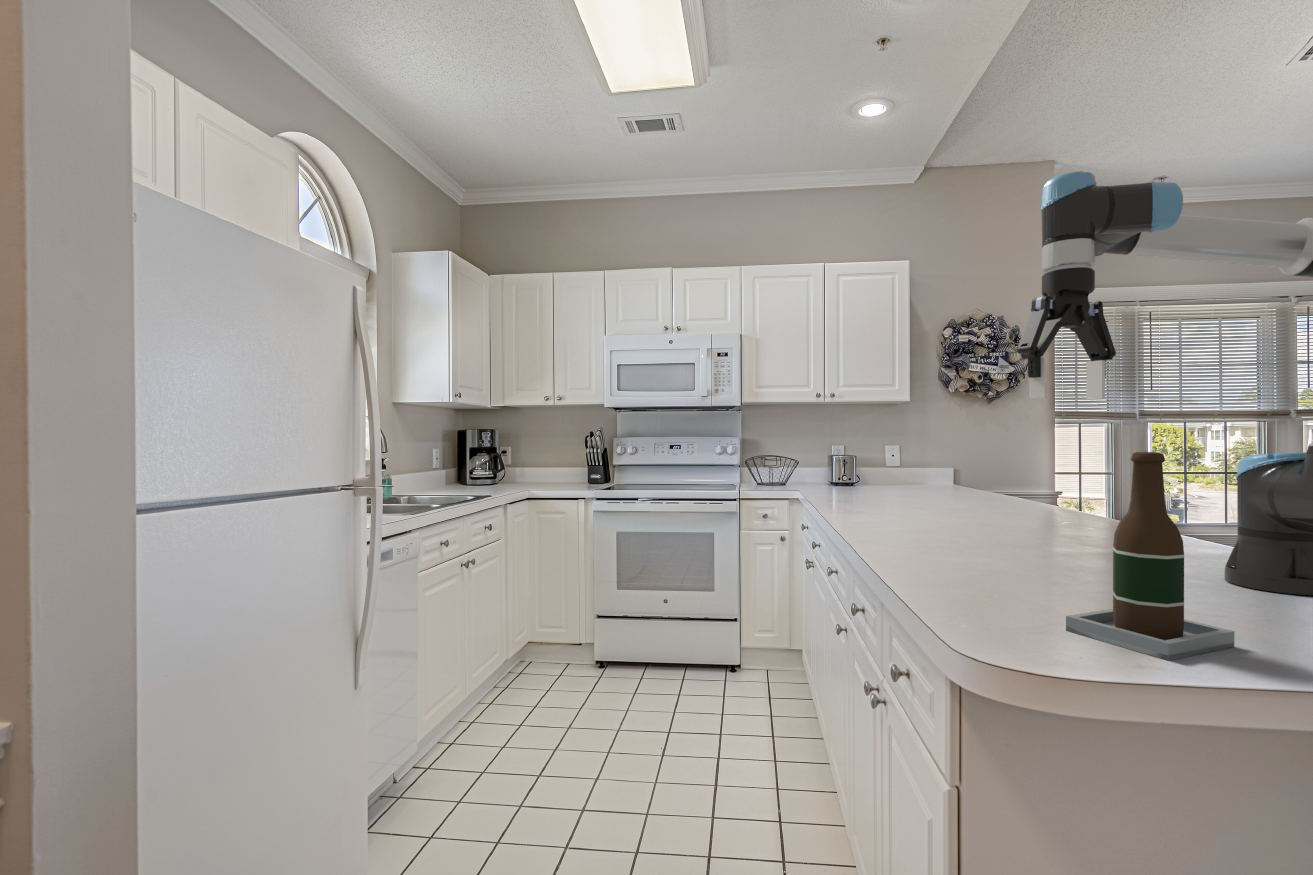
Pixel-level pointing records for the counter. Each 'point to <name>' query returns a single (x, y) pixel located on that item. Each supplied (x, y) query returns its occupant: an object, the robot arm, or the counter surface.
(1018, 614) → the counter surface
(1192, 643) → the keeper tray
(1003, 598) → the counter surface
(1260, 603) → the counter surface
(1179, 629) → the beer bottle
